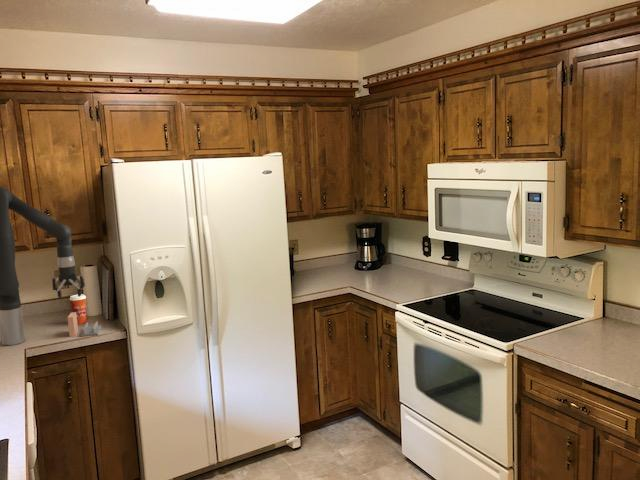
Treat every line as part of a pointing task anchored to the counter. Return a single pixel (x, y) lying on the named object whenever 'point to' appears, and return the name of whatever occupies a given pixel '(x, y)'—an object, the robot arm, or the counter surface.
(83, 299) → the coffee cup
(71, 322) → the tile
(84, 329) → the blue grey crystal cluster
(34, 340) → the counter surface
